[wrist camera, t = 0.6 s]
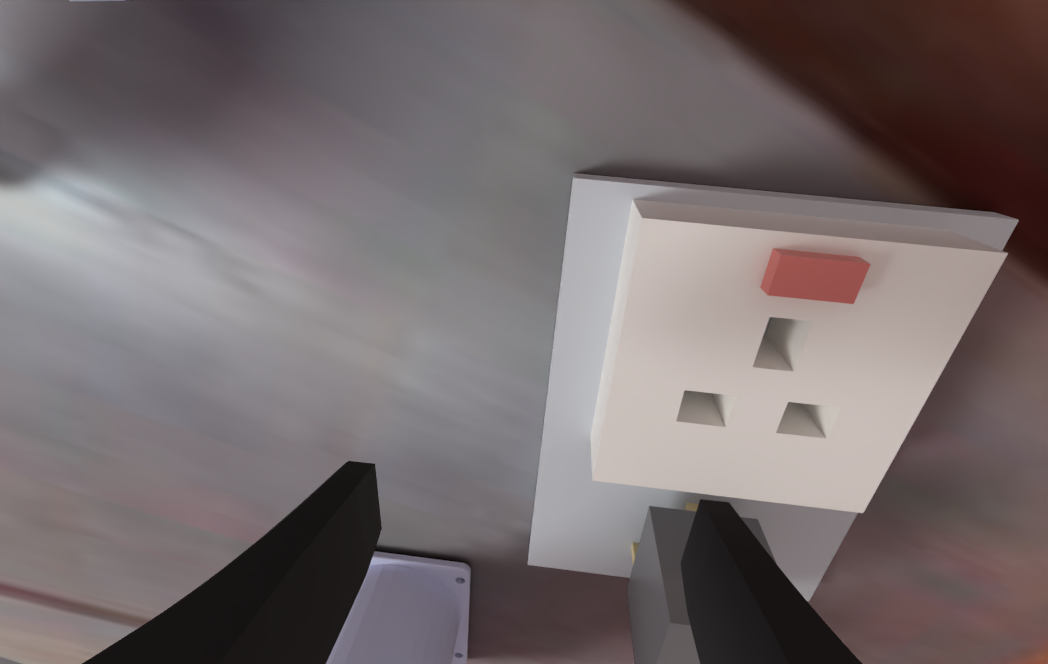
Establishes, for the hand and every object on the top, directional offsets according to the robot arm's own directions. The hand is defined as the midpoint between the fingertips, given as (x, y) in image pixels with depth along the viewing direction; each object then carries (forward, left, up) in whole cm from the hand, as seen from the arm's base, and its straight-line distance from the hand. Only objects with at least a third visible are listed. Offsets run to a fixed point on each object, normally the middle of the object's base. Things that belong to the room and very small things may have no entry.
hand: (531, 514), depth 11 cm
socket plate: (0, -7, -9) cm, 11 cm away
